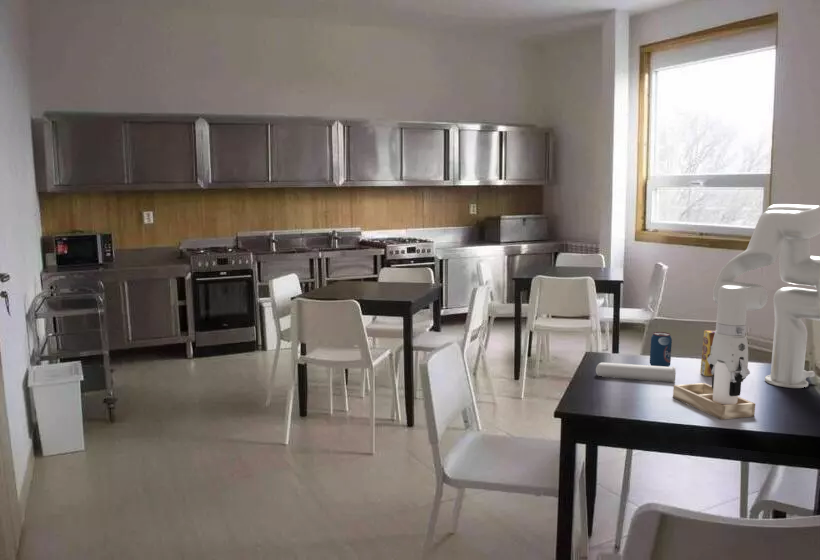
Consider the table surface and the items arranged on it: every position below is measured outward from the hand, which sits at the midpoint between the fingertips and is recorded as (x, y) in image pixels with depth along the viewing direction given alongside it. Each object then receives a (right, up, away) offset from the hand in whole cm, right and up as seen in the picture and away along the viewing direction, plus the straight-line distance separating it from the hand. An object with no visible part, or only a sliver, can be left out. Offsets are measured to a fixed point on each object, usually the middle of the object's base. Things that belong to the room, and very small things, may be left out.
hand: (725, 391), depth 200 cm
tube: (-15, -2, +34) cm, 38 cm away
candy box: (+14, -1, +40) cm, 43 cm away
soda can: (-1, +1, +50) cm, 50 cm away
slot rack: (-2, -5, +6) cm, 8 cm away
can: (0, -3, 0) cm, 3 cm away
